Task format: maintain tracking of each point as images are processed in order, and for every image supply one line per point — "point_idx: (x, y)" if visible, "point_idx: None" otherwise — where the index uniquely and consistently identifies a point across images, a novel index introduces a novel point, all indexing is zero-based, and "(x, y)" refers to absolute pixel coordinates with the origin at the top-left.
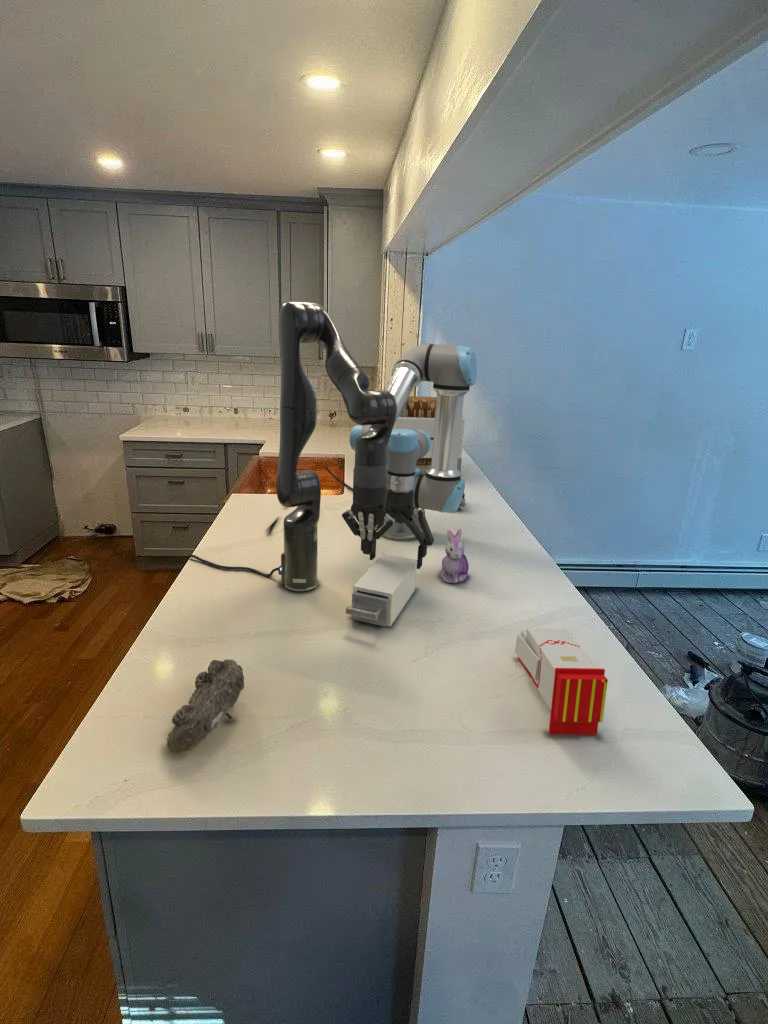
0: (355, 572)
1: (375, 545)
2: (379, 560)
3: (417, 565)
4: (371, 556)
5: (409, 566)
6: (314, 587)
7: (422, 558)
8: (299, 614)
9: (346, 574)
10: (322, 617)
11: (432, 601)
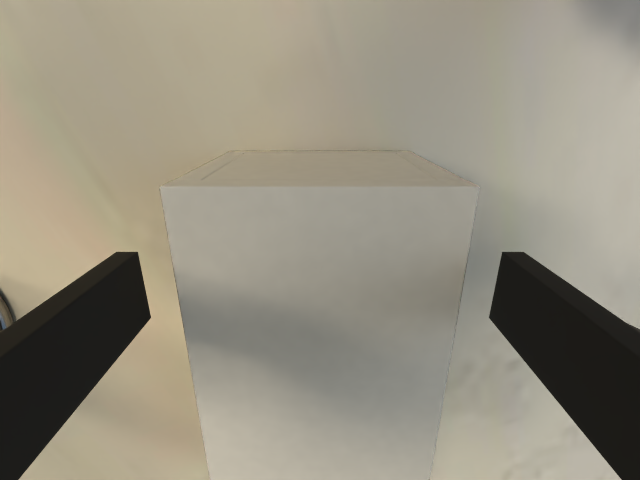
0: (50, 93)
1: (71, 322)
2: (203, 318)
3: (506, 334)
4: (129, 335)
5: (437, 322)
6: (10, 324)
7: (562, 283)
8: (102, 463)
9: (28, 139)
10: (172, 454)
11: (504, 231)
